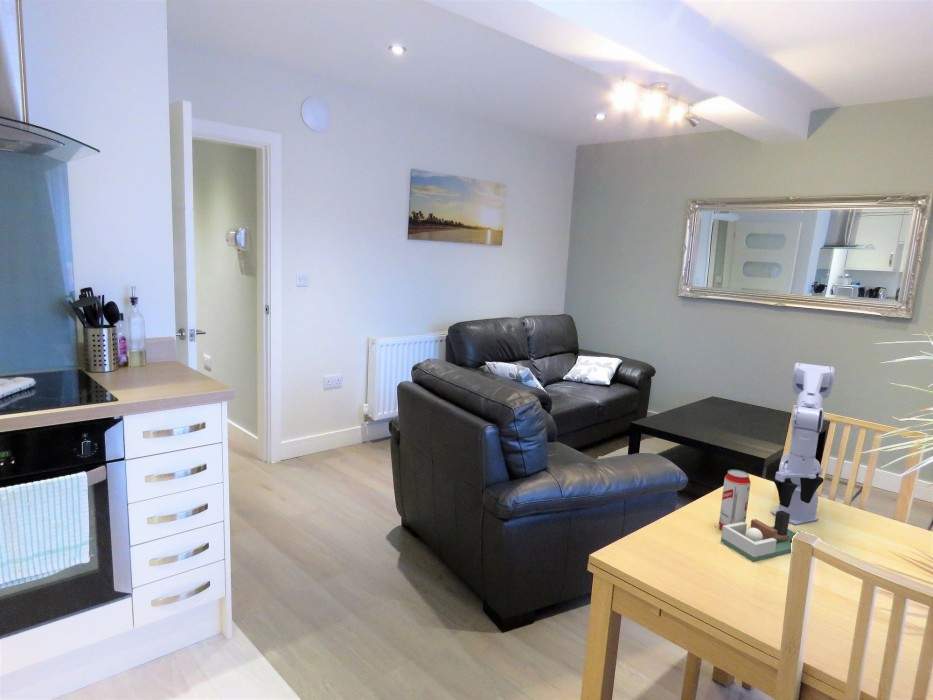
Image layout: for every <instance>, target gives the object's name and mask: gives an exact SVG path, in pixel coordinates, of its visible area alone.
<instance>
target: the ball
mask: <svg viewBox="0 0 933 700" xmlns="http://www.w3.org/2000/svg"><path fill="white" fill-rule="evenodd" d="M745 537H747V538H749V539H751V540H752V541H754V542H756V541H760V540H763V535H762V533H761V531H760V530H759V529H757V528H750V527H749V528H748V529H746V533H745Z"/></svg>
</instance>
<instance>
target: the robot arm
mask: <svg viewBox="0 0 933 700" xmlns="http://www.w3.org/2000/svg"><path fill="white" fill-rule="evenodd" d="M835 370H836V369H835V367H834V366H832V365H831V366H826V365H821V364H820V365H819V364H811V363H810V364H809V363H802V362H796V363H795V364H794V367H793V374H792V385H791V389H792V392H793V393H794V394H796V395H797V398H796V399H797V401H796V404H795V407H794V408H793V412H792V419H791V434H790V435H791V439H790V446H789V452H787V453H785V454H783V455H782V456H781V459H780V462H779V466H778V467H779V468H778V471H776V472H775V475H774V476H773V478H772V479H773V480H772V481H773V482H774V485H775V487H776V490H777V493H778V499H779V503H778V509H774V510H773V509H772V510H771V511H770V513H771V514H773V515H775V516H776V512H777V511H782V510H783V511H785V512H787V513H789V514H790V518H789V523H791V524H793V525H801V524H806V523H810V522H814V521H818V520H819V518H818V517H817V510H818V502H819V494H818V492H817V490H818V488H819V487H820V486H821V485H822V484H823V483H824V480H825V479H824V478H823V477H821V476H822V475H823V470H824V469H823V468H822V467H821V464H820V461H819V460H818V459H816V454H817V448H818V443H819V441H818V440H819V433H821V431H822V429H823V423H824V413H825V412H824V408H823V403H824V399H826V398H829V396H830V394H831V392H832V387H833V386H834V379H835V372H836V371H835Z"/></svg>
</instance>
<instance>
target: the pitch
mask: <svg viewBox="0 0 933 700" xmlns="http://www.w3.org/2000/svg"><path fill="white" fill-rule="evenodd" d="M747 525H748V523H746V521H745V522H739V523H734V524H729V525H724V526H723V528H722V529H721V537H720V542H721V543H722V542H723V543H722V544H724V545H725V544H726V545H725V546H727V547H729V548H730V549H732V550H734V551H735V552H737V553H738V554H740V555H742V556H743V557H745V558H746V559H748V560H750V561H751V562H757V561H758V562H759V561H763V560H766V559H771V558H774V557H778V556H784V555H788V554H791V543H792V538H793V536H794V535H795V534H796V532H795V531H793V530H791V529H789V528H788V531H787V536H789V539H788V540H783V541H779V542H777V540H776V539H774V538H769V539H765V540H760V541H756V542H754V541H752V540H751V539H749V538H747V537H745V533H746V531H747V527H748V526H747ZM771 527H772V528H774V525H772V526H771Z"/></svg>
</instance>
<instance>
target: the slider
mask: <svg viewBox="0 0 933 700" xmlns="http://www.w3.org/2000/svg"><path fill="white" fill-rule="evenodd" d="M789 518H790V514H789V513H787V512H785V511H783V510H782V511H777V512H776V515H775V518H774V525H773V526H774V528H772V526H770V525H768V524H766V523H764V522H762V521H760V520H758V519H757V518H755V519H751V521H750V527H749V528H757V529H759V530H760V531H761V533H762V535H763V540H765V539H769V538H774V539H776V540H777V542H779V541H783V540H788V539H789V536H787V531H788V529H789V523H790V522H789Z"/></svg>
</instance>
